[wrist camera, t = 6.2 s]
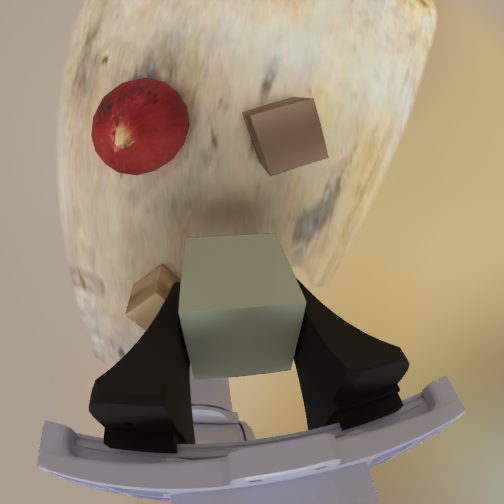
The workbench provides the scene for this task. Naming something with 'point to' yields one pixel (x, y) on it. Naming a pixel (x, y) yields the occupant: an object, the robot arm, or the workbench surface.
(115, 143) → the onion
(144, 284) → the oak block
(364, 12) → the workbench surface
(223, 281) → the sage block
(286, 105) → the walnut block
